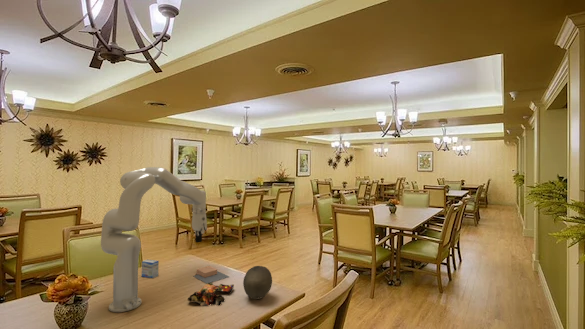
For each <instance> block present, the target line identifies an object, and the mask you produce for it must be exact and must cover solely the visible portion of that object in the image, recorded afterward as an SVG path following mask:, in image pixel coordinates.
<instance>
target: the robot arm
mask: <svg viewBox="0 0 585 329" xmlns="http://www.w3.org/2000/svg"><path fill="white" fill-rule="evenodd" d="M119 184H120V186H121V187H122V188H123V189H124V190H123V191H122V192H121V195H120V197H119V202H118V208H112V209H110V210H107V212H106V213H105V214H104V216H103V219H102V222H101V223H102V224H101V237H100V238H101V239H100V247H101V250H102V251H103V252H104V253H105V254H107V255H114V256H117V257H116V259H115V262H114V264H113V269H112V270H113V279H112V280H113V282H112V284H113V288H112V289H113V292H112V302H111V303H109V305H108V310H109V311H110V312H112V313H122V312H128V311H131V310H134V309H137V308H138V307H140V306H141V304H142V298H140V297H138V296H139V295H138V294H139V293H138V292H139V291H138V289H139V288H138V286H139V259H140V257H139V256H140V252H141V248H142V247H141V246H142V241H141V240H140V238H139V237H138V236H137V235H134V234H131V233H125V232H132V231H133V232H134V230H136V229H137V228H138V226H139V223H140V212H141V202H142V199H143V197H144V196H145V194H146V193H147V192H148V191H149V190H151V189H152V188H153V187H154V185H158V186H159V187H161V188H162V189H164V190H165V191H166V192H168V193H169V194H171V195H175V196H179V201H180V202H181V203H182V204H185V205H192V218H191V228H192V230H193V232H194V235H195V243H202V242H203V234H204V233H205V231H207V229H208V224H207V223H208V221H207V219H208V218H207V212H206V211H207V210H206V208H207V207H206V206H207V193H206V191H205V190H201V189H199V187H197V186H195V185H193V184H191V183H188V182H186V181H184V180H182V179H179V178H178V177H177V176H175V174H173V173H172V172H170V171H169V170H168V169H166V168H164V167H162V166H161V167H160V166H158V167H157V166H150V167H149V166H147V167H143V168H139V169H136V170H131V171H130V170H129V171H127V172H125V173H124V174H122V175H121V177H120V179H119Z"/></svg>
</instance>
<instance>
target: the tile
mask: <svg viewBox="0 0 585 329" xmlns="http://www.w3.org/2000/svg"><path fill="white" fill-rule="evenodd" d="M217 271H218V269H217V268H215V267H212V266H210V265H207V266H203V267H199V268H196V275H200V276H202V277H204V278H205V277H209V276H212V275H215V274H217Z"/></svg>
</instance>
